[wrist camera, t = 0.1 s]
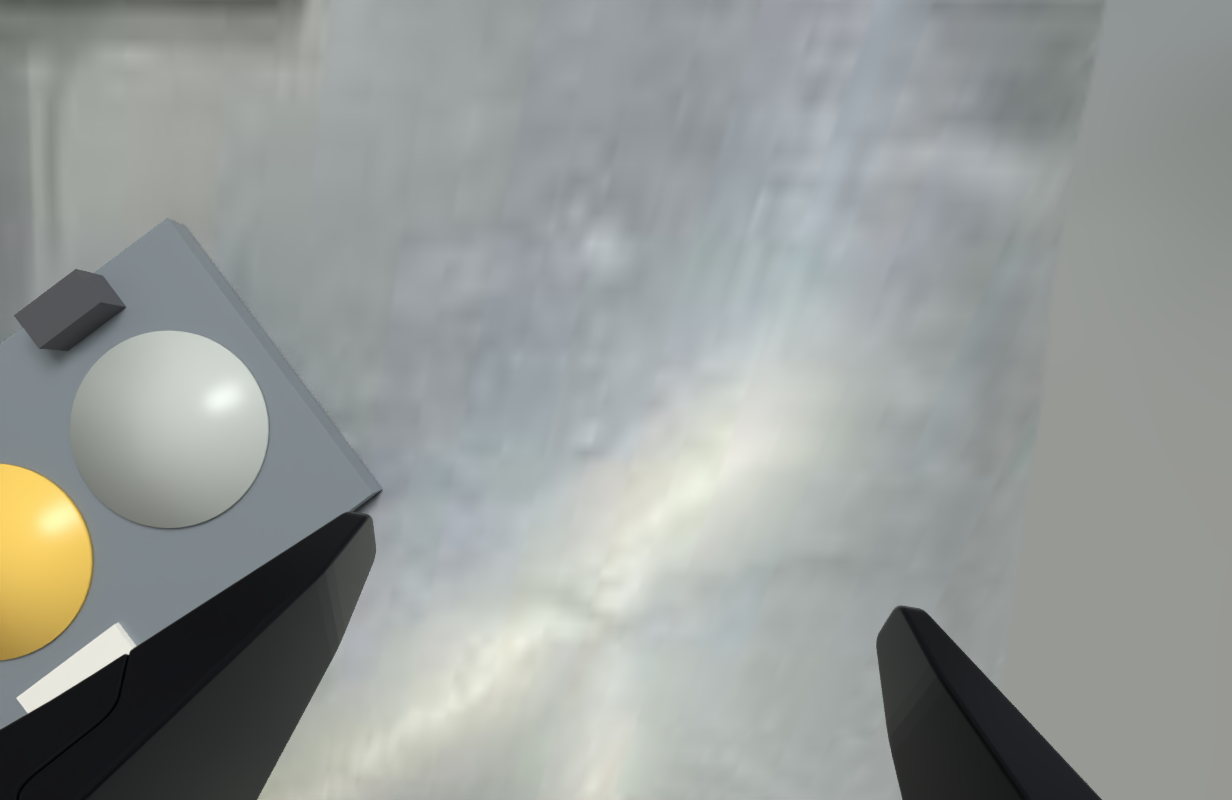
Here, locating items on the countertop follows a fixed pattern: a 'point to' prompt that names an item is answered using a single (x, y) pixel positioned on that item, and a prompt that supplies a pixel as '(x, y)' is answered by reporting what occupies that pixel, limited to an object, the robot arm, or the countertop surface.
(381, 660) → the countertop surface
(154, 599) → the control panel
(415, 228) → the countertop surface
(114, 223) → the countertop surface
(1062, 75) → the countertop surface
